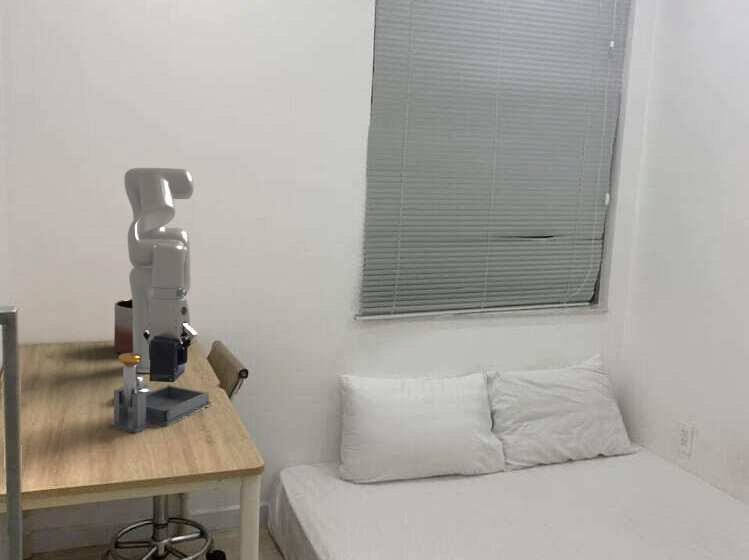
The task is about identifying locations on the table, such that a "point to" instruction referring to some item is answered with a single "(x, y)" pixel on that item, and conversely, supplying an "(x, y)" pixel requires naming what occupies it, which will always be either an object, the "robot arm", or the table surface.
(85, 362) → the table surface
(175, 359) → the small box
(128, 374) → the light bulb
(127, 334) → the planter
